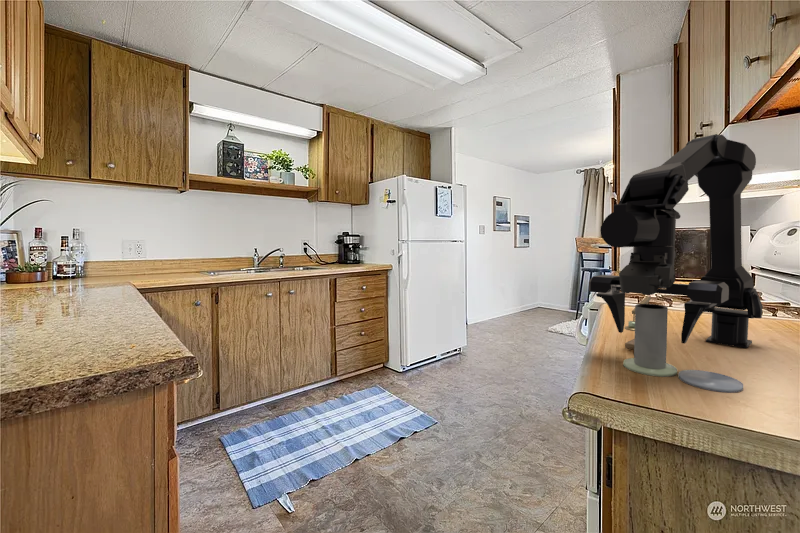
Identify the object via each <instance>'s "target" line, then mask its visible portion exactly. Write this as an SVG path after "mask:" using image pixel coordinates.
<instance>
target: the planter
mask: <svg viewBox="0 0 800 533" xmlns="http://www.w3.org/2000/svg"><path fill="white" fill-rule="evenodd" d="M634 307H635V331H634V339H635V342H634V350H633V352H634V353H633V356H634V357H633V358H634V363H635V364H636V365H638V366H641V367H645V368H650V369H664V368H665V367H666V363H667V348H668V347H667V344H668V343H667V342H668V309H669V308H668V307H667V306H666V305H662V304H654V303H649V304H648V303H647V304H639V303H638V304H636V305H635V306H634Z"/></svg>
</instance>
